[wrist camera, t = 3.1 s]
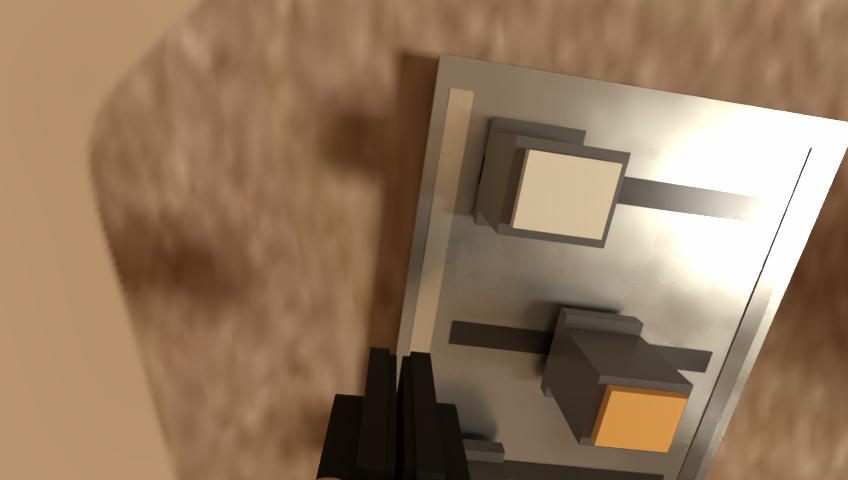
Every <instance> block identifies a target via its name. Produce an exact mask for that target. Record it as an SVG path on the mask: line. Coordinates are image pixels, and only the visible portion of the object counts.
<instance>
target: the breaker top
mask: <svg viewBox="0 0 848 480" xmlns="http://www.w3.org/2000/svg"><path fill="white" fill-rule="evenodd" d="M463 444H464V449H465V454H466V459H467V464H468V469H469V474H470V480H507V477H506V473H505V469H504V466H503V461H504V457H505V451H504V447H503V444H502V443H501V442H491V441H481V440H470V439H463Z"/></svg>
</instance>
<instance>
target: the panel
mask: <svg viewBox="0 0 848 480" xmlns="http://www.w3.org/2000/svg"><path fill="white" fill-rule="evenodd" d="M493 116H498V117H504V118H511V119H517V120H523V121H530V122H536V123H542V124H548V125H555V126H561V127H567V128H574V129H580V130H586V135H585V139H584V143H583V145H584V146H591V147H597V148H604V149H610V150H617V151H623V152H629V153H631V155H630V159H629V162H628V166H627V169H626V173H625V176H624V180H623V183H622V187H621V190H620V194H619V197H618V201H617V204H616V208H615V211H614V215H613V218H612V222H611V225H610V229H609V232H608V236H607V239H606V243H605V246H604V249H602V248H595V247H587V246H580V245H573V244H565V243H558V242H551V241H543V240H536V239H529V238H521V237H514V236H507V235H500V234H496V232H495V231H494V230H493V229H492V227H488V226H481V225H476V224H475V223H474V221H473V218H474V213H475V208H476V202H477V197H478V192H479V186H480V181H481V176H482V170H483V165H484V160H485V154H486V149H487V144H488V138H489V133H490V128H491V122H492V117H493ZM847 145H848V122H843V121H837V120H831V119H825V118H819V117H813V116H807V115H801V114H795V113H789V112H784V111H778V110H772V109H766V108H760V107H754V106H748V105H742V104H736V103H730V102H724V101H718V100H713V99H707V98H701V97H695V96H689V95H683V94H677V93H671V92H665V91H659V90H653V89H648V88H642V87H636V86H630V85H624V84H618V83H612V82H606V81H600V80H594V79H588V78H583V77H577V76H571V75H565V74H559V73H553V72H547V71H541V70H535V69H529V68H523V67H517V66H512V65H506V64H500V63H494V62H488V61H482V60H476V59H470V58H464V57H458V56H452V55H447V54H440V56H439V58H438V63H437V70H436V77H435V84H434V91H433V97H432V104H431V111H430V118H429V125H428V132H427V138H426V145H425V152H424V159H423V166H422V173H421V179H420V186H419V193H418V200H417V207H416V214H415V220H414V227H413V234H412V241H411V248H410V255H409V261H408V268H407V275H406V282H405V289H404V296H403V302H402V309H401V316H400V323H399V330H398V337H397V343H396V350H395V355H397V388H398V381H399V375H400V368H401V362H402V357H403V356H410V352H411V351H416V352H426V353H430V355H431V362H432V370H433V377H434V385H435V393H436V401H437V403H448V404H455V405H456V408H457V413H458V418H459V423H460V428H461V433H462V438H463V439H470V440H481V441H491V442H501V443H502V444H503V447H504V451H505V457H504V461H503V466H504V469H505V473H506V477H507V480H704V479H705V477H706V475H707V472H708V470H709V468H710V465H711V463H712V461H713V458H714V456H715V454H716V451H717V449H718V447H719V444H720V442H721V440H722V437H723V435H724V433H725V430H726V428H727V426H728V423H729V421H730V419H731V416H732V414H733V411H734V409H735V407H736V404H737V402H738V400H739V397H740V395H741V393H742V390H743V388H744V386H745V383H746V381H747V379H748V376H749V374H750V372H751V369H752V367H753V365H754V362H755V360H756V358H757V355H758V353H759V351H760V348H761V346H762V344H763V341H764V339H765V337H766V334H767V332H768V330H769V327H770V325H771V323H772V320H773V318H774V316H775V313H776V311H777V309H778V306H779V304H780V302H781V299H782V297H783V295H784V292H785V290H786V288H787V285H788V283H789V281H790V278H791V276H792V274H793V271H794V269H795V267H796V264H797V262H798V260H799V257H800V255H801V253H802V250H803V248H804V246H805V243H806V241H807V239H808V236H809V234H810V232H811V229H812V227H813V225H814V222H815V220H816V218H817V215H818V213H819V211H820V208H821V206H822V204H823V201H824V199H825V197H826V194H827V192H828V190H829V187H830V185H831V183H832V180H833V178H834V176H835V173H836V171H837V169H838V166H839V164H840V162H841V159H842V157H843V155H844V152H845V150H846V147H847ZM561 308H569V309H578V310H586V311H594V312H602V313H610V314H618V315H626V316H634V317H636V318H637V319H639V320H640V321H641V322H642V323H643V324H644V325H643V328H642V331H641V334H640V336H641V337H642V338H643V339H644V340H645V341H646V342H647V343H648V344H649V345H651V346H652V347H653V348H654V349H655V350H656V351H657V352H658V353H659V354H660V355H661V356H662V357H663V358H665V359H666V360H667V361H668V362H669V363H670V364H671V365H672V366H673V367H674V368H675V369H676V370H678V371H679V372H680V373H681V374H682V375H683V376H684V377H685V378H686V379H687V380H688V381H689V382H691V383H692V384H693V385H694V386H693V389H692V391H691V394H690V397H689V399H688V402H687V404H686V407H685V410H684V412H683V415H682V417H681V420H680V422H679V425H678V428H677V430H676V433H675V435H674V438H673V441H672V443H671V446H670V448H669V451H668V453H667V454H666V453H656V452H645V451H635V450H625V449H615V448H604V447H594V446H584V445H579V444H578V442H577V440H576V439H575V437H574V435H573V433H572V431H571V429H570V427H569V425H568V423H567V421H566V420H565V418H564V416H563V414H562V412H561V410H560V408H559V406H558V404H557V402H556V401H555V399H554V398H552V397H545V396H544V394H543V392H542V390H541V388H540V386H541V382H542V378H543V374H544V371H545V367H546V363H547V359H548V356H549V352H550V348H551V344H552V341H553V337H554V333H555V329H556V326H557V322H558V318H559V314H560V311H561Z"/></svg>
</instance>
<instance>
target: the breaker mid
mask: <svg viewBox="0 0 848 480" xmlns="http://www.w3.org/2000/svg"><path fill="white" fill-rule="evenodd" d="M643 325H644V324H643V323H642V322H641V321H640V320H639V319H637V318H636V317H634V316H626V315H618V314H610V313H602V312H594V311H586V310H578V309H569V308H561V311H560V314H559V318H558V322H557V326H556V329H555V333H554V337H553V341H552V344H551V348H550V352H549V356H548V359H547V363H546V367H545V371H544V374H543V378H542V382H541V386H540V388H541V390H542V392H543V394H544V396H545V397H552V398H554V399H555V401H556V402H557V404H558V406H559V408H560V410H561V412H562V414H563V416H564V418H565V420H566V421H567V423H568V425H569V427H570V429H571V431H572V433H573V435H574V437H575V439H576V440H577V442H578V444H579V445H584V446H594V447H604V448H615V449H625V450H635V451H645V452H656V453H666V454H667V453H668V451H669V448H670V446H671V443H672V441H673V438H674V435H675V433H676V430H677V428H678V425H679V422H680V420H681V417H682V415H683V412H684V410H685V407H686V404H687V402H688V399H689V397H690V394H691V391H692V389H693V386H694V385H693V384H692V383H691V382H689V381H688V380H687V379H686V378H685V377H684V376H683V375H682V374H681V373H680V372H679V371H678V370H676V369H675V368H674V367H673V366H672V365H671V364H670V363H669V362H668V361H667V360H666V359H665V358H663V357H662V356H661V355H660V354H659V353H658V352H657V351H656V350H655V349H654V348H653V347H652V346H651V345H649V344H648V343H647V342H646V341H645V340H644V339H643V338H642V337H641V336H640V334H641V331H642V328H643Z"/></svg>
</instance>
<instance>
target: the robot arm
mask: <svg viewBox="0 0 848 480" xmlns="http://www.w3.org/2000/svg"><path fill="white" fill-rule="evenodd" d="M316 480H470V474H469V469H468V464H467V459H466V454H465V449H464V444H463V438H462V433H461V428H460V423H459V418H458V413H457V408H456V405H455V404H448V403H437V401H436V393H435V385H434V377H433V370H432V362H431V355H430V353H426V352H416V351H411V352H410V356H403V357H402V362H401V368H400V375H399V381H398V388H397V355H392V354H390V349H385V348H375V347H371V349H370V357H369V365H368V372H367V380H366V388H365V396H355V395H343V394H336V395H335V398H334V403H333V407H332V411H331V416H330V420H329V424H328V429H327V433H326V438H325V442H324V446H323V451H322V455H321V460H320V464H319V468H318V473H317V477H316Z"/></svg>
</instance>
